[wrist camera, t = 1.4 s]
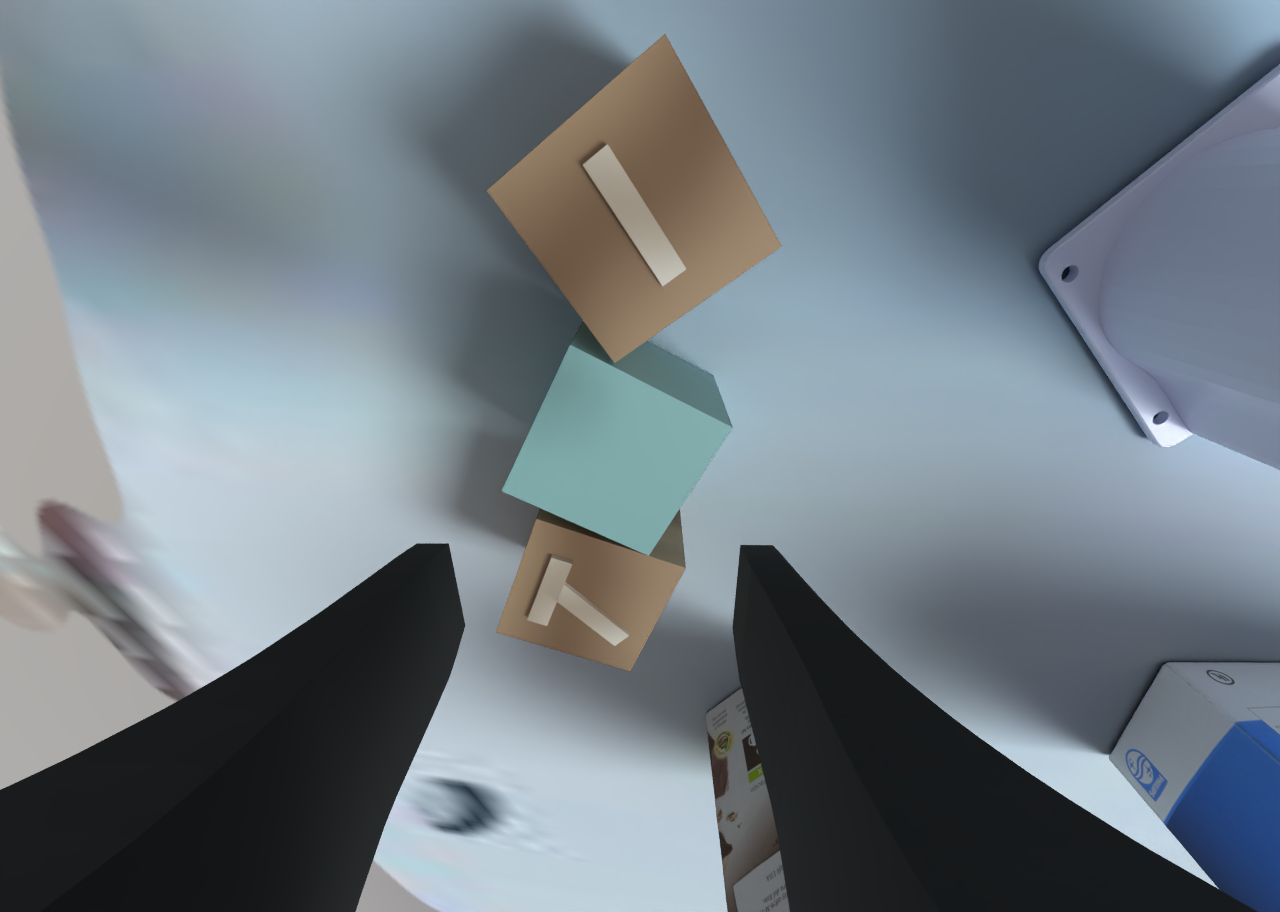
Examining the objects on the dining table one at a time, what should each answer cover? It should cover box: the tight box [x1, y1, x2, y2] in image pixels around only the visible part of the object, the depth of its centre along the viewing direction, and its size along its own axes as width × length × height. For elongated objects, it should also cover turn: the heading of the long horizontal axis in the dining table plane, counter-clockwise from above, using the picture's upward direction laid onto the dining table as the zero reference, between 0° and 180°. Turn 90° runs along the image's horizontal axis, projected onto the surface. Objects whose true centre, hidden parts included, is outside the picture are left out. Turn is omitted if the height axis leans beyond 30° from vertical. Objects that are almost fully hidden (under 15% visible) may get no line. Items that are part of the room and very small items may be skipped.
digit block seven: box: [496, 508, 686, 671], centre depth 20 cm, size 5×5×5 cm
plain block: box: [502, 321, 733, 556], centre depth 17 cm, size 5×5×5 cm
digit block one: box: [487, 34, 781, 363], centre depth 14 cm, size 5×5×5 cm
